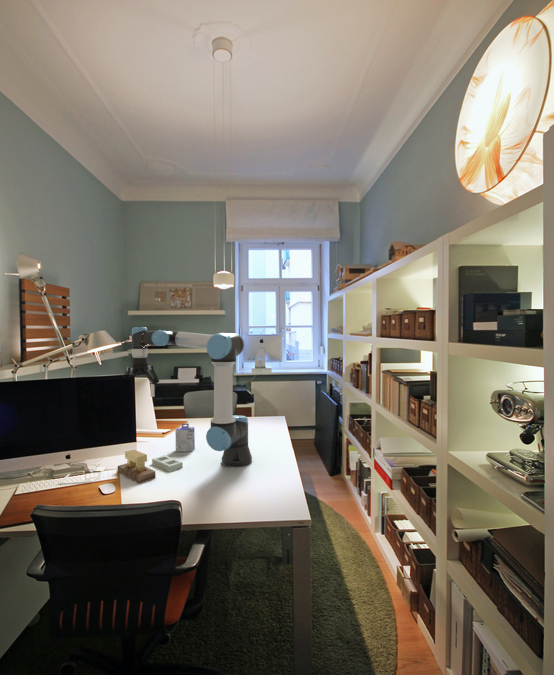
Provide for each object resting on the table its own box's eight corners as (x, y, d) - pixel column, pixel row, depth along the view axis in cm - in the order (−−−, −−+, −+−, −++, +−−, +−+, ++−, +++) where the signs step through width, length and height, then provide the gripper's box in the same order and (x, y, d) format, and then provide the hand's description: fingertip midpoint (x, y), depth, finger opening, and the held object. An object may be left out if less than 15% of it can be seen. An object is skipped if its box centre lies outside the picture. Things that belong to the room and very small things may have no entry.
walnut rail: (155, 477, 166) (155, 471, 166) (138, 483, 160) (138, 476, 160) (133, 467, 179) (133, 461, 179) (117, 472, 173) (117, 465, 173)
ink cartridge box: (195, 448, 209) (194, 422, 209) (193, 451, 203) (193, 425, 203) (177, 449, 208) (176, 423, 208) (175, 452, 202) (175, 425, 202)
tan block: (147, 476, 167) (146, 454, 167) (138, 479, 164) (137, 457, 164) (134, 470, 175) (134, 449, 175) (125, 473, 172) (125, 451, 172)
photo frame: (106, 466, 179) (93, 480, 162) (106, 468, 179) (93, 483, 162) (74, 468, 177) (57, 482, 160) (74, 470, 177) (57, 485, 160)
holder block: (182, 467, 179) (182, 462, 179) (169, 471, 173) (169, 466, 173) (164, 460, 189) (164, 455, 189) (152, 463, 184) (152, 458, 184)
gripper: (158, 355, 202) (158, 394, 202) (112, 358, 183) (113, 400, 183) (165, 356, 197) (165, 395, 197) (119, 358, 178) (119, 402, 178)
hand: (140, 398), depth 190 cm, fingers open, 13 cm apart
